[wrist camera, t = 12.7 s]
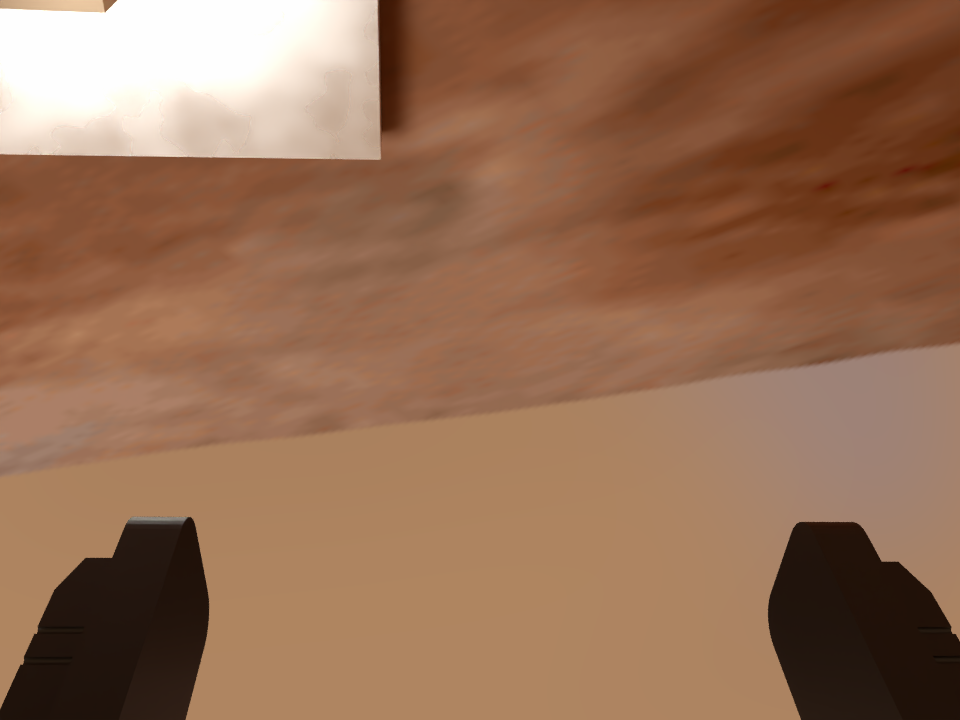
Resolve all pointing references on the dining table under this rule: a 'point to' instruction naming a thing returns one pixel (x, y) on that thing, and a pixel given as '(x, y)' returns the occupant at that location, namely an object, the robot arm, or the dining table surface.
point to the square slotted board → (194, 80)
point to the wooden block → (59, 5)
